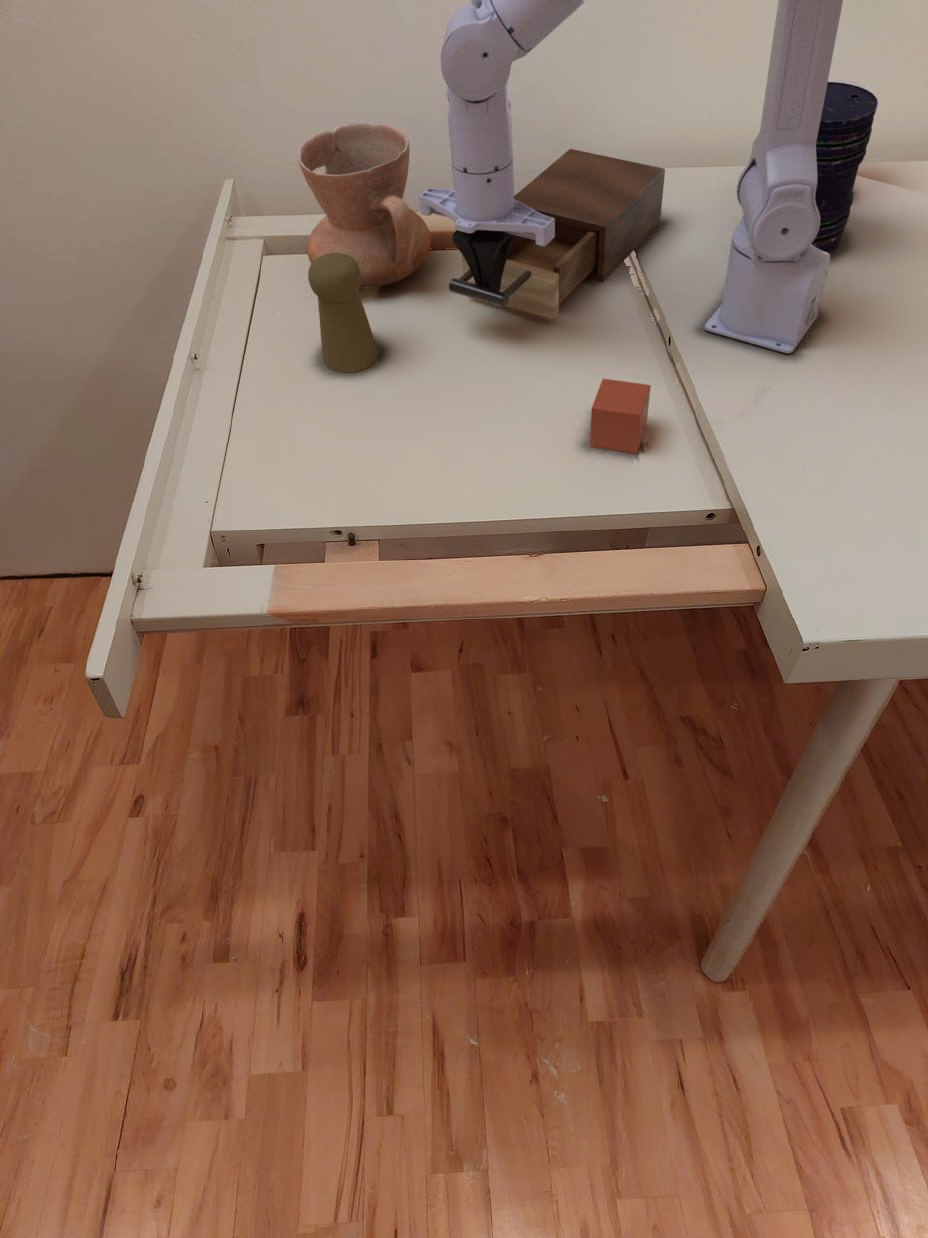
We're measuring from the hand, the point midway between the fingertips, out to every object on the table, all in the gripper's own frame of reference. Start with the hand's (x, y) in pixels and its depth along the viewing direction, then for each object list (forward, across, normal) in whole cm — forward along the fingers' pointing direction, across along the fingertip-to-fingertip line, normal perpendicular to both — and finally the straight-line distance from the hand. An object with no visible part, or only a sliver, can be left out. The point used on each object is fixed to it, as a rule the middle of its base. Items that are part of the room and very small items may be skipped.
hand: (489, 292), depth 94 cm
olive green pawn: (+5, -11, -11) cm, 16 cm away
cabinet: (+4, 0, +21) cm, 21 cm away
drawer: (+4, 0, +7) cm, 8 cm away
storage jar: (+5, +22, +32) cm, 39 cm away
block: (+4, +20, -9) cm, 22 cm away
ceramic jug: (+5, -19, +4) cm, 20 cm away
